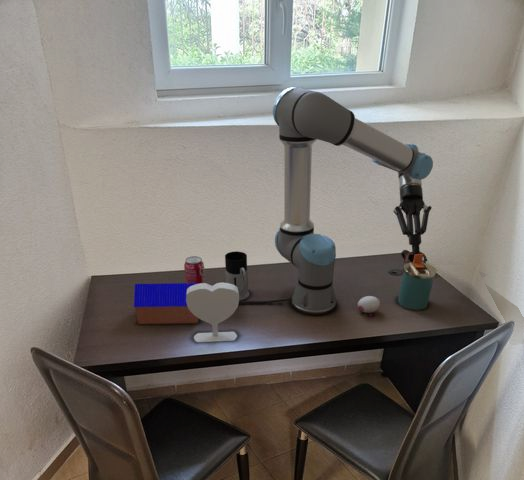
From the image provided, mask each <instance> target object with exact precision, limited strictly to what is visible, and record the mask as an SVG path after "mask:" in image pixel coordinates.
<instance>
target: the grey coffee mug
mask: <svg viewBox="0 0 524 480" xmlns="http://www.w3.org/2000/svg"><path fill="white" fill-rule="evenodd" d="M224 265H225V268H224V273H225V283H229V284H233V285H235V286H236V287H238V292H239V301H244V300H246V299H248V298H249V297H250V292H249V273H248V272H249V271H248V255H247V253H245V252H244V251H237V250H236V251H230V252H227V253H226V254H225V255H224Z"/></svg>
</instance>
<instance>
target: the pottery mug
mask: <svg viewBox="0 0 524 480" xmlns="http://www.w3.org/2000/svg"><path fill="white" fill-rule="evenodd" d="M400 254H401V257H402V259H403V261H404V264H407V263H410V262H413V260H414V255H413V253H412V251H409V250H408V249H402V251H401V253H400ZM418 254H423V259H422V261H423V262H424V263H426V264H427V262H428V258H427V256H426V254H425V253H423V252H422V251H420V252H419V253H418Z"/></svg>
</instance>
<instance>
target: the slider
mask: <svg viewBox="0 0 524 480" xmlns="http://www.w3.org/2000/svg"><path fill="white" fill-rule="evenodd" d="M422 260H424V258H423V254H415V255H414V260H413V265H414V266H415V267H416V268H425V267H424V265H423V264H422Z"/></svg>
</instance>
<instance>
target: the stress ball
mask: <svg viewBox="0 0 524 480" xmlns="http://www.w3.org/2000/svg"><path fill="white" fill-rule="evenodd" d="M380 306H381V302H380V299H379V298H377V297H376V296H372V295H367V296H363V297H361V298H360V299H358V302H357V308H358V310H359V311H360V312H362V313H365V314H369V317H371V316H373V314H372V313H374V312H376V311H377V310H378V309H379V308H380Z"/></svg>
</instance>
